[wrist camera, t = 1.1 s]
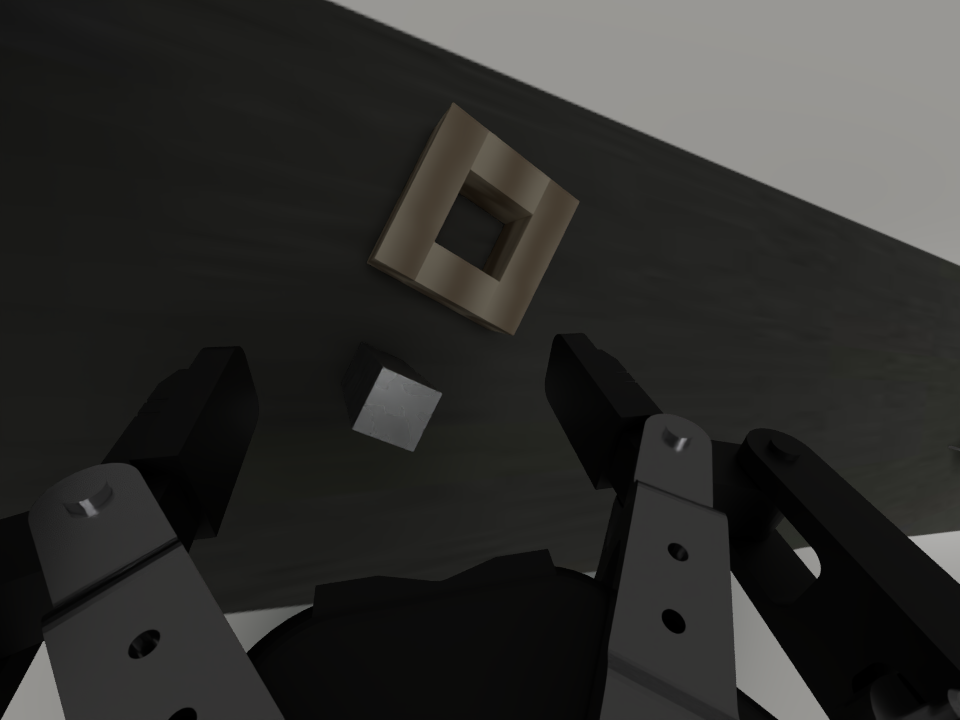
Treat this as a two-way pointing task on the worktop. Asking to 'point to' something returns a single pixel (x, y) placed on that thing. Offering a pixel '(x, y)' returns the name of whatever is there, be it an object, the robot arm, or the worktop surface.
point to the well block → (496, 189)
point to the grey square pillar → (387, 397)
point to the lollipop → (954, 448)
